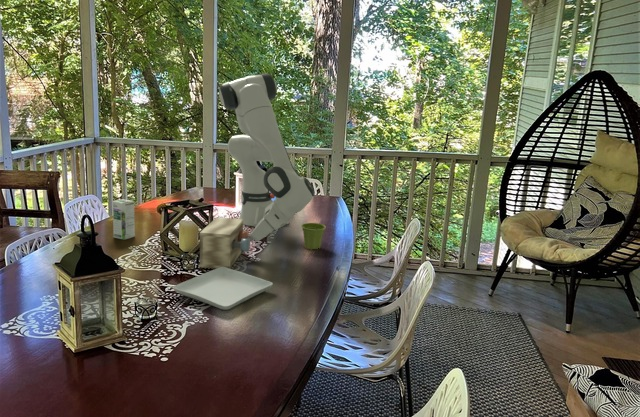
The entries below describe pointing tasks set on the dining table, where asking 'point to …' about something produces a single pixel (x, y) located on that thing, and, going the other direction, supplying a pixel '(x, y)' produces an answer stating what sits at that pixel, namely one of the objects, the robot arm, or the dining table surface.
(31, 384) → the dining table surface
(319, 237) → the plant pot
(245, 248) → the blue grey rounded piece
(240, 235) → the button brick
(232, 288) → the salad plate
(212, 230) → the cardboard box
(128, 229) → the syrup box
